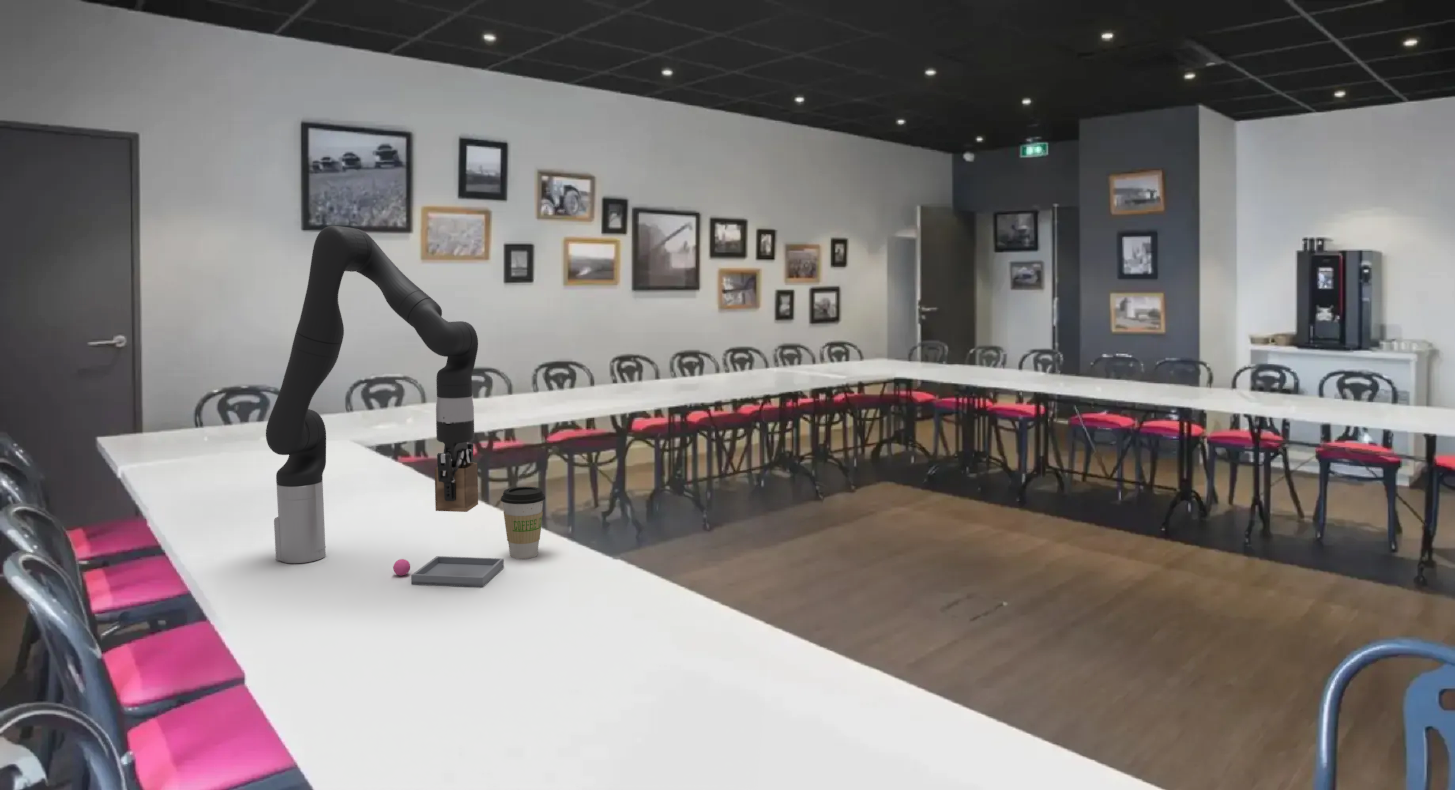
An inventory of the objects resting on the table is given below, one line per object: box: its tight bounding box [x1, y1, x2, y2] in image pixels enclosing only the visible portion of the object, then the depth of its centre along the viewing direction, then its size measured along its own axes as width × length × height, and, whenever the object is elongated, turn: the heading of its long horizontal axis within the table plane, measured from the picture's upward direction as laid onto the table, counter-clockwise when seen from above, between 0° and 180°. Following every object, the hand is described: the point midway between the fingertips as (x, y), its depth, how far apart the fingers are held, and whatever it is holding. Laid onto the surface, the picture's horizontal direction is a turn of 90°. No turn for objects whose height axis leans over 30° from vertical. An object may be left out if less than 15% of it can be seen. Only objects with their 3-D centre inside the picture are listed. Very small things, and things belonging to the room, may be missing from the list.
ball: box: [392, 558, 411, 576], centre depth 186 cm, size 3×3×3 cm
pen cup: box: [434, 462, 479, 513], centre depth 184 cm, size 7×7×9 cm
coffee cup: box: [500, 486, 546, 560], centre depth 201 cm, size 10×10×15 cm
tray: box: [410, 555, 505, 588], centre depth 186 cm, size 15×13×2 cm
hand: (456, 496), depth 184 cm, fingers closed on pen cup, 6 cm apart
